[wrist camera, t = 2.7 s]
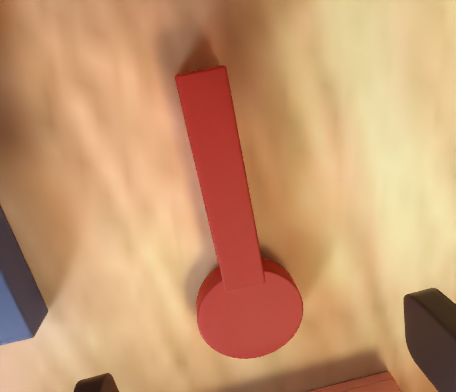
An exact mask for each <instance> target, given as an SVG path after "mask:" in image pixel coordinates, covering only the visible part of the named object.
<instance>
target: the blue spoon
mask: <svg viewBox="0 0 456 392" xmlns="http://www.w3.org/2000/svg"><path fill="white" fill-rule="evenodd" d="M47 313H48V309H47V307H46V305H45V303H44V300H43V298H42V296H41V294H40V292H39V289H38V287H37V285H36V283H35V281H34V279H33V276H32V274H31V272H30V270H29V268H28V265H27V263H26V261H25V259H24V257H23V254H22V252H21V250H20V248H19V246H18V244H17V241H16V239H15V237H14V235H13V233H12V230H11V228H10V226H9V224H8V222H7V219H6V217H5V215H4V213H3V211H2V208H1V206H0V345H4V344H8V343H12V342H17V341H21V340H25V339H29V338H33V337H34V336H35V334H36V332H37V331H38V329H39V327H40V325H41V323H42V322H43V320H44V318H45V316H46V314H47Z"/></svg>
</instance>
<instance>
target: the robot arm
mask: <svg viewBox="0 0 456 392" xmlns="http://www.w3.org/2000/svg"><path fill="white" fill-rule="evenodd" d="M404 319H405V337H406V343H407V347H408V350H409V352H410V354H411V356H412V358H413V360H414V361H415V363H416V364H417V365H418V367H419V368H420V369H421V370H422V372H423V373H424V374H425V375H426V377H427V378H428V379H429V380H430V382H431V383H432V384H433V385H434V387H435V388H436V389H437V390H438V392H456V304H455V303H453V302H452V301H451V300H450V299H449V298H448V297H446V296H445V295H444V294H443V293H442V292H441V291H439V290H438V289H436V288H430V289H426V290H422V291H418V292H415V293H411V294H407V295H405V297H404ZM74 392H119V391H118V388H117V386H116V384H115V381H114V379H113V377H112V376H111V374H109V373H107V374H103V375H99V376H95V377H92V378H88V379H84V380H80V381H79V382H78V383H77V384H76V386H75V389H74Z"/></svg>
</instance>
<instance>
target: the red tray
mask: <svg viewBox="0 0 456 392" xmlns="http://www.w3.org/2000/svg"><path fill="white" fill-rule="evenodd" d="M307 392H402V391H401V389H400V388H399V386H398V385H397V383H396V382H395V380H394V379H393V377H392V375H391V374H390V373H389V371H388V372H384V373H380V374H376V375H372V376H368V377H364V378H360V379H355V380H351V381H347V382H343V383H339V384H335V385H331V386H327V387H323V388H319V389H315V390H311V391H307Z"/></svg>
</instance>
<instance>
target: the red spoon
mask: <svg viewBox="0 0 456 392" xmlns="http://www.w3.org/2000/svg"><path fill="white" fill-rule="evenodd" d="M175 80H176V85H177V89H178V93H179V98H180V102H181V106H182V110H183V115H184V119H185V123H186V127H187V132H188V136H189V140H190V144H191V149H192V153H193V157H194V161H195V166H196V170H197V174H198V178H199V183H200V187H201V191H202V195H203V200H204V204H205V208H206V212H207V217H208V221H209V225H210V230H211V234H212V238H213V242H214V247H215V251H216V255H217V259H218V264H219V267H218V268H216V269H215V270H214V271H213V272H212V273H211V274H210V275H209V276H208V277H207V278H206V279H205V281H204V282H203V284H202V285H201V287H200V290H199V292H198V296H197V323H198V328H199V331H200V334H201V335H202V337H203V339H204V340H205V341H206V343H207V344H208V345H209V346H210V347H211V348H213V349H214V350H216V351H217V352H219V353H221V354H223V355H226V356H229V357H233V358H240V359H248V358H256V357H261V356H264V355H267V354H270V353H272V352H274V351H276V350H278V349H279V348H281V347H282V346H284V345H285V344H286V343H287V342H288V341H289V340H290V339H291V338H292V337H293V336H294V334H295V333H296V331H297V329H298V328H299V326H300V323H301V320H302V316H303V302H302V297H301V295H300V293H299V291H298V289H297V287H296V285H295V283H294V281H293V279H292V277H291V276H290V274H289V273H288V272H287V271H286V270H285V269H284V268H283V267H282V266H280V265H279V264H277V263H275V262H273V261H271V260H268V259H264V258H261V253H260V248H259V243H258V237H257V232H256V226H255V221H254V215H253V210H252V205H251V199H250V194H249V188H248V183H247V177H246V172H245V167H244V161H243V156H242V150H241V145H240V139H239V134H238V129H237V123H236V118H235V112H234V107H233V101H232V96H231V91H230V85H229V80H228V74H227V69H226V66H215V67H210V68H205V69H201V70H196V71H191V72H186V73H181V74H177V75H176V76H175Z"/></svg>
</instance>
